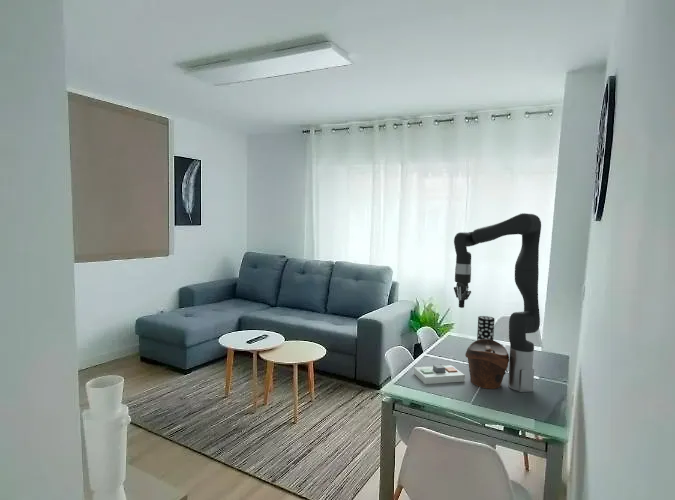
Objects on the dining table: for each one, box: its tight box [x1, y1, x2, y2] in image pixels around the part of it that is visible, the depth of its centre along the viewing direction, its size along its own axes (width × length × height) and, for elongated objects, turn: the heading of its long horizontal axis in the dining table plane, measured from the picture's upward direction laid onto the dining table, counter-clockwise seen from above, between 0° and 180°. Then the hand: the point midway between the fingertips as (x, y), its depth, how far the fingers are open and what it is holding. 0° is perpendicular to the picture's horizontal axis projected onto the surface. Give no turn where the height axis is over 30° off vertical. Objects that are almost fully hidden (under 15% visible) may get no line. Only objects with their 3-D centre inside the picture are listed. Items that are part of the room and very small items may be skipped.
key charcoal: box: [432, 364, 445, 372], centre depth 178 cm, size 4×4×2 cm
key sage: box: [421, 369, 433, 374], centre depth 177 cm, size 4×4×2 cm
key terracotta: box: [445, 366, 458, 373], centre depth 180 cm, size 4×4×2 cm
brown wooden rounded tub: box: [465, 339, 510, 390], centre depth 173 cm, size 18×20×18 cm
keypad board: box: [413, 364, 466, 385], centre depth 179 cm, size 12×19×3 cm, turn 103°
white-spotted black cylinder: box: [476, 315, 495, 341], centre depth 213 cm, size 8×8×20 cm
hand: (461, 307), depth 194 cm, fingers closed
